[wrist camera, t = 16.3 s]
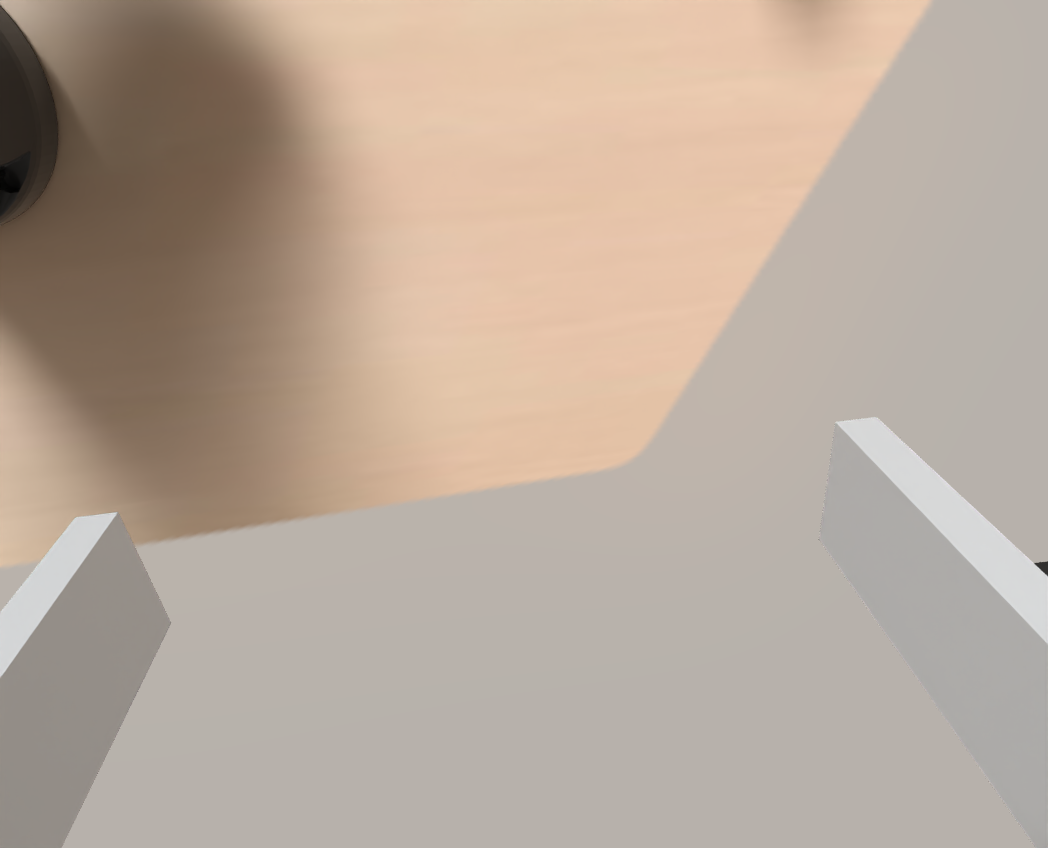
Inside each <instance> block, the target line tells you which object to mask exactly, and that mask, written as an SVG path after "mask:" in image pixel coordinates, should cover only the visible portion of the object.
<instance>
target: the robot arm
mask: <svg viewBox="0 0 1048 848" xmlns="http://www.w3.org/2000/svg"><path fill="white" fill-rule="evenodd" d="M57 146H58V127H57V117H56V111H55V106H54V101H53V98H52V94H51V91H50V88H49V85H48V82H47V79H46V77H45V75H44V72H43V70H42V68H41V65H40V63H39V61H38V59H37V57H36V56H35V54H34V52H33V50H32V49H31V47H30V45H29V43H28V42H27V40H26V39H25V37H24V36H23V34H22V33H21V31H20V30H19V29H18V27H17V26H16V25H15V23H14V22H13V21H12V19H11V18H10V17H9V16H8V14H7V13H6V12H5V11H4V10H3V9H2V8H1V6H0V225H2V224H4V223H6V222H8V221H10V220H12V219H14V218H16V217H17V216H19V215H20V214H22V213H23V212H25V211H26V210H27V209H28V208H29V207H30V206H31V205H32V204H33V203H34V202H35V201H36V200H37V199H38V197H39V196H40V195H41V193H42V192H43V190H44V189H45V187H46V185H47V183H48V181H49V179H50V177H51V174H52V171H53V168H54V164H55V160H56V155H57ZM819 540H820V542H821V543H822V545H823V546H824V548H825V549H826V550H827V552H828V553H829V555H830V556H831V558H832V559H833V560H834V562H835V563H836V565H837V566H838V567H839V569H840V570H841V572H842V573H843V575H844V576H845V577H846V579H847V580H848V582H849V583H850V584H851V586H852V587H853V589H854V590H855V592H856V593H857V595H858V596H859V597H860V599H861V600H862V602H863V603H864V604H865V606H866V607H867V609H868V610H869V612H870V613H871V614H872V616H873V617H874V619H875V620H876V622H877V623H878V624H879V626H880V627H881V629H882V630H883V631H884V633H885V634H886V636H887V637H888V639H889V640H890V641H891V643H892V644H893V646H894V647H895V649H896V650H897V651H898V653H899V654H900V656H901V657H902V658H903V660H904V661H905V663H906V664H907V666H908V667H909V668H910V670H911V671H912V672H913V674H914V675H915V677H916V678H917V680H918V681H919V683H920V684H921V686H922V687H923V688H924V690H925V691H926V692H927V694H928V695H929V697H930V698H931V700H932V701H933V703H935V705H936V707H937V708H938V710H939V711H940V712H941V714H942V715H943V717H944V718H945V720H946V721H947V722H948V724H949V725H950V727H951V728H952V730H953V731H954V732H955V734H956V735H957V737H958V738H959V739H960V741H961V742H962V744H963V745H964V747H965V748H966V749H967V751H968V752H969V754H970V755H971V757H972V758H973V759H974V761H975V762H976V764H977V765H978V766H979V768H980V769H981V771H982V772H983V774H984V775H985V777H986V778H987V779H988V781H989V782H990V783H991V785H992V786H993V788H994V789H995V791H996V792H997V794H998V795H999V796H1000V798H1001V799H1002V801H1003V802H1004V803H1005V805H1006V806H1007V808H1008V809H1009V811H1010V812H1011V813H1012V814H1013V816H1014V818H1015V819H1016V820H1017V822H1018V823H1019V825H1020V826H1021V828H1022V829H1023V830H1024V832H1025V833H1026V835H1027V836H1028V837H1029V839H1030V840H1031V842H1032V843H1033V845H1034V846H1035V848H1048V562H1040V563H1033V562H1032V561H1031V560H1030V559H1028V558H1027V557H1026V556H1025V555H1024V554H1023V553H1022V552H1021V551H1020V550H1019V549H1018V548H1017V547H1016V546H1014V545H1013V544H1012V543H1011V542H1010V541H1009V540H1008V539H1007V538H1006V537H1005V536H1004V535H1003V534H1001V532H999V531H998V530H997V529H996V528H995V527H994V526H993V525H992V524H991V523H990V522H989V521H988V520H987V519H985V518H984V517H983V516H982V515H981V514H980V513H979V512H978V511H977V510H976V509H975V508H974V507H973V506H971V505H970V504H969V503H968V502H967V501H966V500H965V499H964V498H963V497H962V496H961V495H960V494H959V493H957V492H956V491H955V490H954V489H953V488H952V487H951V486H950V485H949V484H948V483H947V482H946V481H945V480H944V479H942V478H941V477H940V476H939V475H938V474H937V473H936V472H935V471H934V470H933V469H932V468H931V467H929V465H927V464H926V463H925V462H924V461H923V460H922V459H921V458H920V457H919V456H918V455H917V454H915V452H913V451H912V450H911V449H910V448H909V447H908V446H907V445H906V444H905V443H904V442H903V441H902V440H900V439H899V438H898V437H897V436H896V435H895V434H894V433H893V432H892V431H891V430H890V429H889V428H888V427H887V426H885V425H884V424H883V423H882V422H881V421H880V420H879V419H878V418H877V417H873V418H865V419H857V420H849V421H841V422H836V423H835V429H834V437H833V443H832V451H831V458H830V465H829V472H828V479H827V486H826V493H825V500H824V507H823V514H822V522H821V528H820V536H819ZM170 624H171V622H170V620H169V618H168V615H167V613H166V611H165V609H164V607H163V605H162V603H161V601H160V599H159V597H158V594H157V592H156V590H155V588H154V586H153V584H152V582H151V580H150V578H149V576H148V573H147V571H146V569H145V567H144V565H143V563H142V561H141V559H140V557H139V555H138V553H137V550H136V548H135V546H134V544H133V542H132V540H131V538H130V536H129V534H128V532H127V530H126V527H125V525H124V523H123V521H122V519H121V517H120V515H119V513H118V512H114V513H106V514H98V515H90V516H82V517H75V518H74V520H73V521H72V522H71V523H70V525H69V526H68V527H67V529H66V530H65V531H64V532H63V534H62V535H61V536H60V537H59V539H58V540H57V541H56V542H55V544H54V545H53V546H52V548H51V549H50V550H49V551H48V553H47V554H46V555H45V556H44V558H43V559H42V560H41V561H40V563H39V564H38V565H37V567H36V568H35V569H34V570H33V572H32V573H31V574H30V576H29V577H28V578H27V579H26V580H25V582H24V583H23V584H22V585H21V587H20V588H19V589H18V591H17V592H16V593H15V594H14V596H13V597H12V599H10V601H9V602H8V603H7V605H6V606H5V607H4V608H3V610H2V611H1V612H0V848H61V847H62V846H63V843H64V841H65V839H66V837H67V835H68V833H69V831H70V829H71V827H72V825H73V823H74V821H75V819H76V817H77V815H78V813H79V811H80V809H81V807H82V805H83V803H84V800H85V798H86V796H87V794H88V792H89V790H90V788H91V786H92V784H93V782H94V780H95V778H96V776H97V774H98V772H99V770H100V768H101V765H102V764H103V762H104V760H105V757H106V755H107V753H108V751H109V749H110V747H111V745H112V743H113V741H114V739H115V737H116V735H117V733H118V731H119V729H120V727H121V724H122V723H123V721H124V718H125V716H126V714H127V712H128V710H129V708H130V706H131V704H132V702H133V700H134V698H135V696H136V694H137V692H138V690H139V688H140V686H141V684H142V682H143V679H144V678H145V675H146V673H147V671H148V669H149V667H150V665H151V663H152V661H153V659H154V657H155V655H156V653H157V651H158V649H159V647H160V645H161V642H162V641H163V638H164V637H165V634H166V632H167V630H168V628H169V626H170Z"/></svg>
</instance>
